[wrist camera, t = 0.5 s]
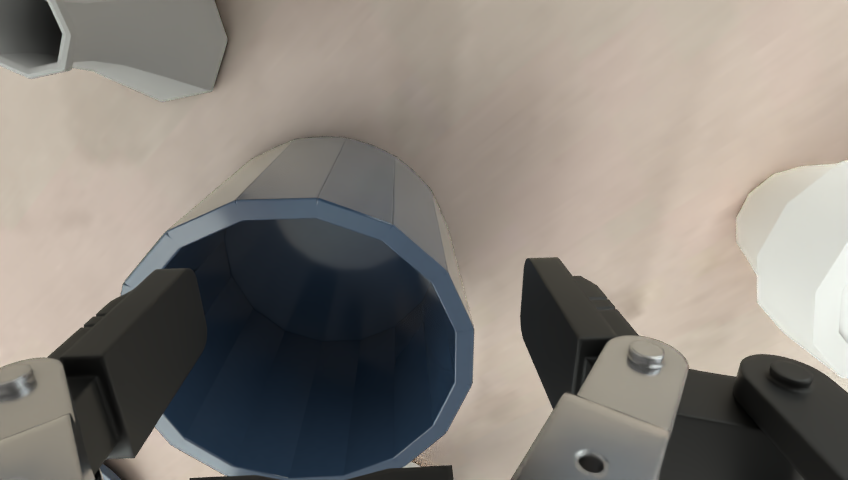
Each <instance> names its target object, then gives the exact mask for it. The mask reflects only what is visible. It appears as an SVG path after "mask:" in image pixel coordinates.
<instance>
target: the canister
mask: <svg viewBox="0 0 848 480" xmlns="http://www.w3.org/2000/svg"><path fill="white" fill-rule="evenodd" d="M180 268H190V269H192V270H193V271H194V273H195V275H196V278H197V282H198V287H199V291H200V296H201V301H202V306H203V310H204V315H205V320H206V325H207V341H206V345H205V348H204V350H203V352H202V354H201V355H200V357H199V359H198V360H197V362H196V363H195V365H194V366H193V368H192V369H191V371H190V373H189V374H188V376H187V377H186V379H185V380H184V382H183V383H182V385H181V387H180V388H179V390H178V391H177V393H176V394H175V396H174V397H173V399H172V401H171V402H170V404H169V405H168V407H167V408H166V410H165V411H164V413H163V414H162V416H161V418H160V419H159V421H158V422H157V424H156V425H155V428H156V429H157V430H158V431H159V432H160V434H161V435H162V436H163V437H164V438H165V439H166V440H167V441H168V443H169V444H170V445H171V446H172V445H173V447H175V448H177V449H179V450H180V451H182V452H184V453H186V454H187V455H189V456H191V457H193V458H195V459H196V460H198V461H200V462H202V463H203V464H205V465H207V466H209V467H211V468H212V469H214V470H216V471H218V472H220V473H221V474H223V475H225V476H244V475H258V476H264V477H269V478H275V479H280V480H347V479H351V478H355V477H358V476H362V475H366V474H370V473H373V472H377V471H381V470H385V469H388V468H403V467H405V466H406V465H407V464H408V463H410V462H411V461H412V460H413V459H415V458H416V457H417V456H418V455H420V454H421V453H422V452H423V451H424V450H426V449H427V448H428V447H429V446H431V445H432V444H433V443H434V442H436V441H437V440H438V439H439V438H441V437H442V436H443V435H444V434H446V432H447V431H448V429H449V427H450V425H451V423H452V421H453V419H454V418H455V416H456V414H457V412H458V410H459V408H460V406H461V405H462V403H463V401H464V399H465V397H466V395H467V393H468V392H469V390H470V388H471V386H472V383H473V355H474V326H473V322H472V318H471V314H470V310H469V306H468V303H467V299H466V295H465V291H464V287H463V283H462V279H461V275H460V272H459V268H458V264H457V260H456V256H455V252H454V248H453V244H452V240H451V237H450V233H449V229H448V226H447V224H446V222H445V220H444V217H443V215H442V213H441V210H440V207H439V205H438V203H437V201H436V199H435V197H434V195H433V193H432V190H431V189H430V187H428V186H427V185H426V184H425V183H424V181H423V180H422V179H421V178H420V177H419V176H418V175H417V174H416V173H415V172H414V171H413V170H412V169H411V168H410V167H409V166H407V165H406V164H405V163H404V162H402V161H401V160H400V159H398V158H397V157H396V156H394V155H392V154H390V153H388V152H387V151H385V150H382V149H380V148H378V147H376V146H373V145H371V144H368V143H364V142H361V141H358V140H354V139H350V138H342V137H327V136H321V137H310V138H303V139H294V140H292V141H289V142H287V143H285V144H282V145H279V146H277V147H274V148H273V149H271V150H269V151H267V152H265V153H263V154H261V155H259V156H257V157H254V158H252V159H251V160H250V161H248V162H247V163H246V164H245V165H244V166H243V167H241V168H240V169H239V170H238V171H237V172H235V173H234V174H233V175H232V176H231V177H230V178H228V179H227V180H226V181H225V182H224V183H222V184H221V185H220V186H219V187H218V188H217V189H215V190H214V191H213V192H212V193H211V194H209V195H208V196H207V197H206V198H205V199H204V200H202V201H201V202H200V203H199V204H198V205H196V206H195V207H194V208H193V209H192V210H191V211H189V212H188V213H187V214H186V215H185V216H183V217H182V218H181V219H180V220H179V221H178V222H176V223H175V224H174V225H173V226H172V227H170V228H169V229H168V230H167V231H166V232H165V233H164V234H163V235H162V236H161V238H160V239H159V240H158V241H157V242H156V244H155V245H154V246H153V247H152V248H151V250H150V251H149V252H148V253H147V254H146V256H145V257H144V258H143V259H142V261H141V262H140V263H139V264H138V265H137V267H136V268H135V269H134V270H133V271H132V273H131V274H130V275H129V276H128V277H127V279H126V280H125V282H124V283H123V286H122V291H121V296H122V295H124V294H126V293H128V292H129V291H131V290H133V289H134V288H135V287H137V286H138V285H139V284H140V283H141V282H142V281H143V280H144V279H145V278H146V277H148V276H149V275H150V274H151V273H152V272H153V271H154V270H156V269H180Z"/></svg>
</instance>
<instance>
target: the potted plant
mask: <svg viewBox="0 0 848 480" xmlns="http://www.w3.org/2000/svg"><path fill="white" fill-rule="evenodd" d="M736 242H737V244H738V246H739V247H740V249H741V250H742V252H743V254H744V255H745V257H746V259H747V260H748V262H749V264H750V265H751V267H752V268H753V270H754V272H755V273H756V275H757V303H758V304H759V305H760V306H761V308H762V309H763V310H764V311H765V312H766V313H767V315H768V316H769V317H770V318H771V319H772V320H773V322H774V323H775V324H776V325H777V326H778V327H779V329H780V330H781V331H782V332H783V333H784V334H785V335H787V336H788V337H789V338H790V339H792V340H793V341H794V342H796V343H797V344H798V345H800V346H801V347H802V348H803V349H805V350H806V351H807V352H809V353H810V354H811V355H812V356H814V357H815V358H816V359H818V360H819V361H820V362H822V363H823V364H824V365H825V366H827V367H828V368H829V369H831V370H832V371H833V372H834V373H836V374H837V375H838V376H840V377H843V378H848V160H846V161H842V162H840V163H838V164H825V165H812V166H800V167H797V168H793V169H790V170H786V171H782V172H779V173H775V174H773V175H771V176H770V177H769V178H768V179H766V180H765V181H764V182H763V183H762V184H760V185H759V186H758V187H757V188H755V189H754V190H753V191H752V192H750V193H749V195H748V197H747V198H746V200H745V202H744V204H743V206H742V208H741V210H740V212H739V213H738V215H737V217H736Z"/></svg>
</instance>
